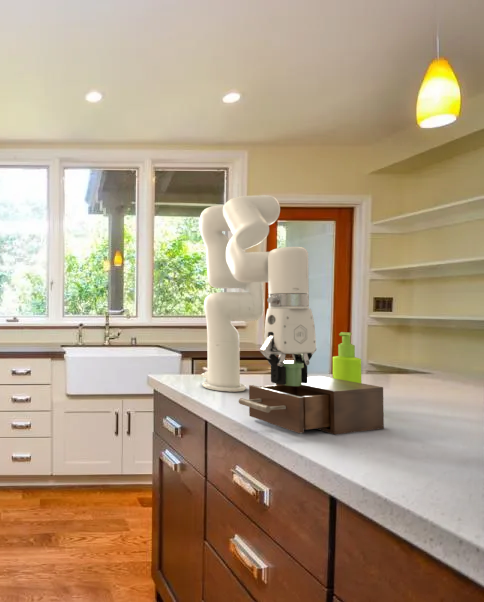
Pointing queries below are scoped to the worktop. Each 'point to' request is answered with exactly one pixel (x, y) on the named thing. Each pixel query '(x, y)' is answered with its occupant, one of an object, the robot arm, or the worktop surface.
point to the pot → (293, 373)
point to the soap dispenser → (346, 361)
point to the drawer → (289, 407)
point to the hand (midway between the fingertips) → (289, 382)
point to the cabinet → (350, 404)
